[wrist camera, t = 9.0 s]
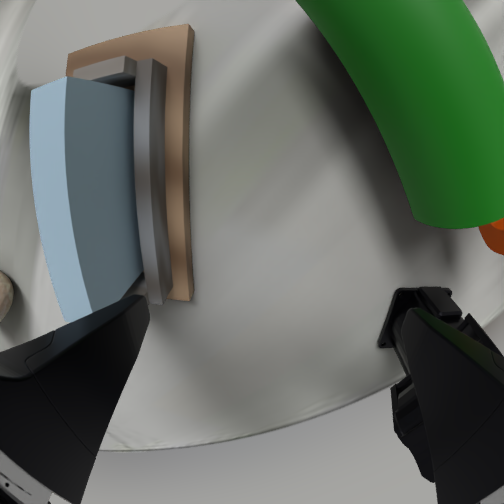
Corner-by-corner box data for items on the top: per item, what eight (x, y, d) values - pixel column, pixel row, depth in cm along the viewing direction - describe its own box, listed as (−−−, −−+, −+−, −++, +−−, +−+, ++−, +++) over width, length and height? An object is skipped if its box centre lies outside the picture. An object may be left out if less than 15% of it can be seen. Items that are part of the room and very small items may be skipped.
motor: (279, 16, 13) (407, 255, 20) (316, -64, 4) (481, 311, 11) (383, -10, 12) (479, 197, 18) (446, -55, 3) (552, 226, 10)
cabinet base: (194, 290, 22) (175, 334, 17) (92, 280, 22) (60, 313, 17) (194, 31, 14) (169, -1, 9) (78, 56, 14) (35, 46, 9)
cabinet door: (150, 261, 19) (97, 328, 12) (114, 259, 20) (55, 318, 12) (143, 93, 15) (67, 76, 7) (103, 100, 15) (21, 95, 7)
